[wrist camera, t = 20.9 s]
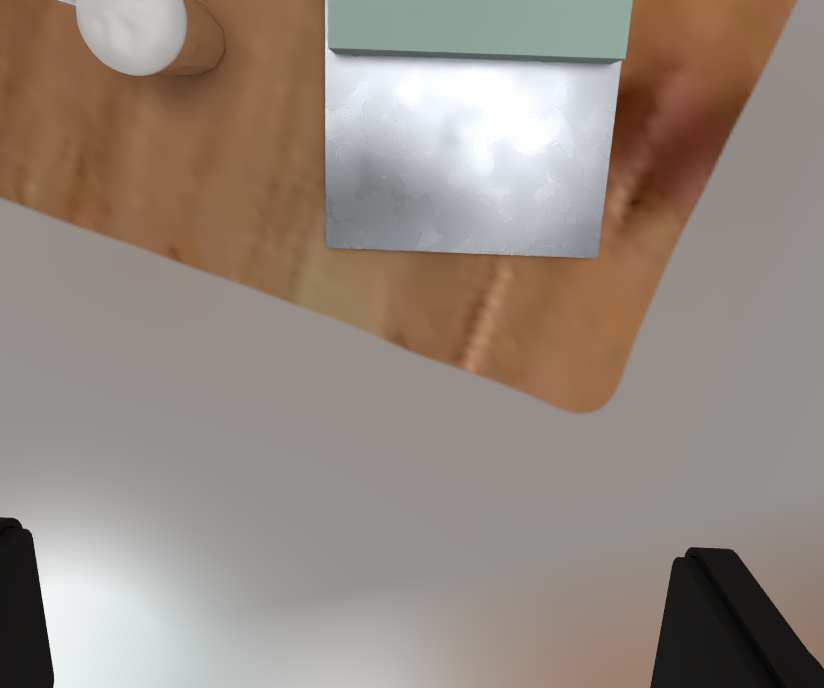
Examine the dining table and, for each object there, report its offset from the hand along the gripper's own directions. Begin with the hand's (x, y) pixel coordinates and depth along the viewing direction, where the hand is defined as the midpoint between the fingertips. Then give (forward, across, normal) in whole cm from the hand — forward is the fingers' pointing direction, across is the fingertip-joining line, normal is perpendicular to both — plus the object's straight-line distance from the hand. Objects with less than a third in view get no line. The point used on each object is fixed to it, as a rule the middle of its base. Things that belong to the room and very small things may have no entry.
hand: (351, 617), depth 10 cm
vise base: (+30, -3, -11) cm, 32 cm away
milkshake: (+31, +12, -11) cm, 35 cm away
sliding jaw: (+29, -3, -13) cm, 32 cm away
